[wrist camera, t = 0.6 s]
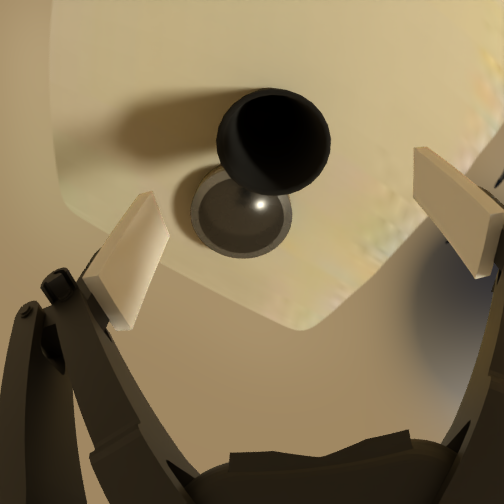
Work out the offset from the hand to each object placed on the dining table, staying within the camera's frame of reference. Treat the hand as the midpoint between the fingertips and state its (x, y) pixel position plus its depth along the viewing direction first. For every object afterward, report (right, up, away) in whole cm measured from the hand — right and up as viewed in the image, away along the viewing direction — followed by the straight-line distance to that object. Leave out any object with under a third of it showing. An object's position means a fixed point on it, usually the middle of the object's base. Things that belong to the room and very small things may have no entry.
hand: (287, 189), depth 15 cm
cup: (0, +11, +15) cm, 19 cm away
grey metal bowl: (-3, +2, +21) cm, 22 cm away
